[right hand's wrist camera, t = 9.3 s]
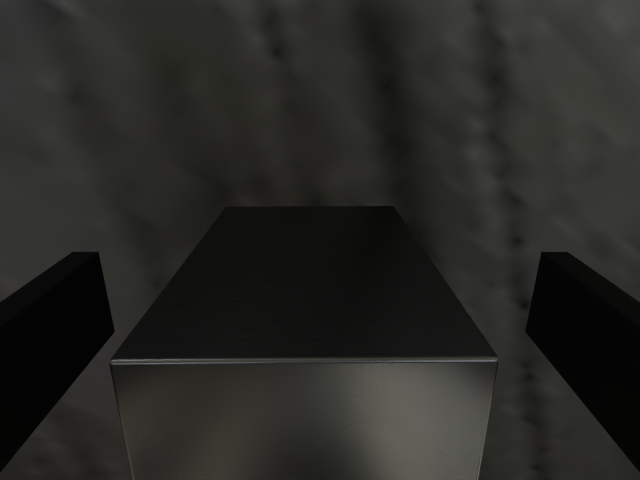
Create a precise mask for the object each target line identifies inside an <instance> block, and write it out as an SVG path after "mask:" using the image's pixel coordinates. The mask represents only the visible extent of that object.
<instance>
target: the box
mask: <svg viewBox="0 0 640 480" xmlns="http://www.w3.org/2000/svg"><path fill="white" fill-rule="evenodd" d="M109 365H110V370H111V375H112V380H113V385H114V390H115V395H116V400H117V405H118V410H119V415H120V420H121V425H122V430H123V435H124V440H125V445H126V450H127V455H128V460H129V465H130V470H131V475H132V480H478V479H479V473H480V467H481V461H482V455H483V449H484V443H485V437H486V431H487V426H488V420H489V414H490V408H491V402H492V396H493V390H494V384H495V379H496V373H497V367H498V357H497V355H496V354H495V352H494V351H493V349H492V348H491V346H490V345H489V343H488V342H487V340H486V339H485V338H484V336H483V335H482V333H481V332H480V330H479V329H478V327H477V326H476V325H475V323H474V322H473V320H472V319H471V317H470V316H469V314H468V313H467V311H466V310H465V309H464V307H463V306H462V304H461V303H460V301H459V300H458V298H457V297H456V295H455V294H454V293H453V291H452V290H451V288H450V287H449V285H448V284H447V282H446V281H445V280H444V278H443V277H442V275H441V274H440V272H439V271H438V269H437V268H436V266H435V265H434V264H433V262H432V261H431V259H430V258H429V256H428V255H427V253H426V252H425V251H424V249H423V248H422V246H421V245H420V243H419V242H418V240H417V239H416V237H415V236H414V235H413V233H412V232H411V230H410V229H409V227H408V226H407V224H406V223H405V222H404V220H403V219H402V217H401V216H400V214H399V213H398V211H397V210H396V208H395V207H394V206H265V207H225V209H224V210H223V211H222V213H221V214H220V215H219V216H218V218H217V219H216V220H215V222H214V223H213V224H212V226H211V227H210V228H209V230H208V231H207V232H206V234H205V235H204V236H203V238H202V239H201V240H200V242H199V243H198V244H197V246H196V247H195V248H194V250H193V251H192V252H191V254H190V255H189V256H188V257H187V259H186V260H185V261H184V263H183V264H182V265H181V267H180V268H179V269H178V271H177V272H176V273H175V275H174V276H173V277H172V279H171V280H170V281H169V283H168V284H167V285H166V287H165V288H164V289H163V291H162V292H161V293H160V295H159V296H158V297H157V298H156V300H155V301H154V302H153V304H152V305H151V306H150V308H149V309H148V310H147V312H146V313H145V314H144V316H143V317H142V318H141V320H140V321H139V322H138V324H137V325H136V326H135V328H134V329H133V330H132V332H131V333H130V334H129V336H128V337H127V338H126V339H125V341H124V342H123V343H122V345H121V346H120V347H119V349H118V350H117V351H116V353H115V354H114V355H113V357H112V358H111V359H110V364H109Z"/></svg>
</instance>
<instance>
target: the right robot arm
mask: <svg viewBox="0 0 640 480" xmlns="http://www.w3.org/2000/svg"><path fill="white" fill-rule="evenodd" d="M114 332H115V331H114V326H113V321H112V316H111V311H110V306H109V301H108V296H107V292H106V287H105V282H104V277H103V272H102V267H101V262H100V257H99V252H72V253H70V254H69V255H68V256H66V257H65V258H63V259H62V260H60V261H59V262H57V263H56V264H55V265H53V266H52V267H50V268H49V269H47V270H46V271H45V272H43V273H42V274H40V275H39V276H37V277H36V278H34V279H33V280H32V281H30V282H29V283H27V284H26V285H24V286H23V287H22V288H20V289H19V290H17V291H16V292H14V293H13V294H12V295H10V296H9V297H7V298H6V299H4V300H3V301H1V302H0V472H1V471H2V469H3V468H4V467H5V466H6V465H7V463H8V462H9V461H10V460H11V458H12V457H13V456H14V455H15V454H16V452H17V451H18V450H19V449H20V447H21V446H22V445H23V444H24V442H25V441H26V440H27V439H28V438H29V436H30V435H31V434H32V433H33V431H34V430H35V429H36V428H37V426H38V425H39V424H40V423H41V422H42V420H43V419H44V418H45V417H46V415H47V414H48V413H49V412H50V411H51V409H52V408H53V407H54V406H55V404H56V403H57V402H58V401H59V399H60V398H61V397H62V396H63V395H64V393H65V392H66V391H67V390H68V388H69V387H70V386H71V385H72V384H73V382H74V381H75V380H76V379H77V377H78V376H79V375H80V374H81V372H82V371H83V370H84V369H85V368H86V366H87V365H88V364H89V363H90V361H91V360H92V359H93V358H94V356H95V355H96V354H97V353H98V352H99V350H100V349H101V348H102V347H103V345H104V344H105V343H106V342H107V341H108V339H109V338H110V337H111V336H112V334H113V333H114ZM525 332H526V333H527V334H528V336H529V337H530V338H531V339H532V341H533V342H534V343H535V344H536V345H537V347H538V348H539V349H540V350H541V352H542V353H543V354H544V355H545V356H546V358H547V359H548V360H549V361H550V363H551V364H552V365H553V366H554V368H555V369H556V370H557V371H558V372H559V374H560V375H561V376H562V377H563V379H564V380H565V381H566V382H567V384H568V385H569V386H570V387H571V388H572V390H573V391H574V392H575V393H576V395H577V396H578V397H579V398H580V399H581V401H582V402H583V403H584V404H585V406H586V407H587V408H588V409H589V411H590V412H591V413H592V414H593V415H594V417H595V418H596V419H597V420H598V422H599V423H600V424H601V425H602V426H603V428H604V429H605V430H606V431H607V433H608V434H609V435H610V436H611V438H612V439H613V440H614V441H615V442H616V444H617V445H618V446H619V447H620V449H621V450H622V451H623V452H624V454H625V455H626V456H627V457H628V458H629V460H630V461H631V462H632V463H633V465H634V466H635V467H636V468H637V469H638V471H639V472H640V302H639V301H637V300H636V299H634V298H633V297H631V296H630V295H628V294H627V293H626V292H624V291H623V290H621V289H620V288H618V287H617V286H616V285H614V284H613V283H611V282H610V281H608V280H607V279H606V278H604V277H603V276H601V275H600V274H598V273H597V272H595V271H594V270H593V269H591V268H590V267H588V266H587V265H585V264H584V263H583V262H581V261H580V260H578V259H577V258H575V257H574V256H572V255H571V254H570V253H568V252H541V257H540V262H539V267H538V272H537V277H536V282H535V287H534V292H533V296H532V301H531V306H530V311H529V316H528V321H527V326H526V331H525Z"/></svg>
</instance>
